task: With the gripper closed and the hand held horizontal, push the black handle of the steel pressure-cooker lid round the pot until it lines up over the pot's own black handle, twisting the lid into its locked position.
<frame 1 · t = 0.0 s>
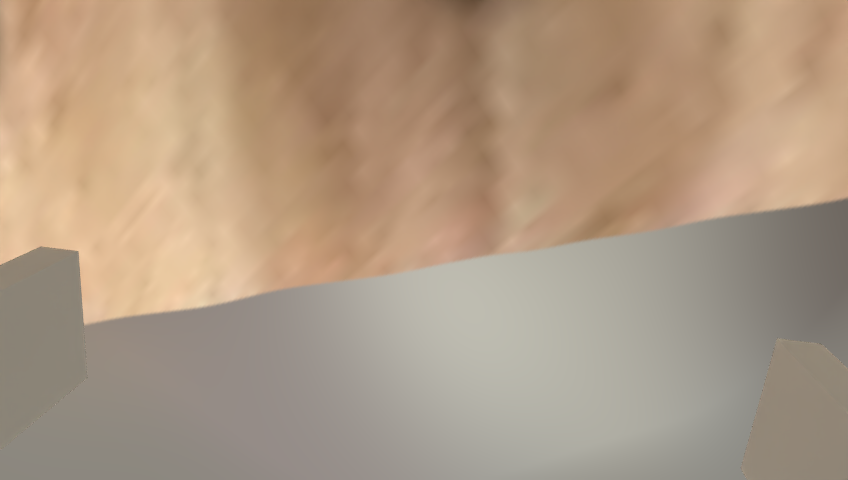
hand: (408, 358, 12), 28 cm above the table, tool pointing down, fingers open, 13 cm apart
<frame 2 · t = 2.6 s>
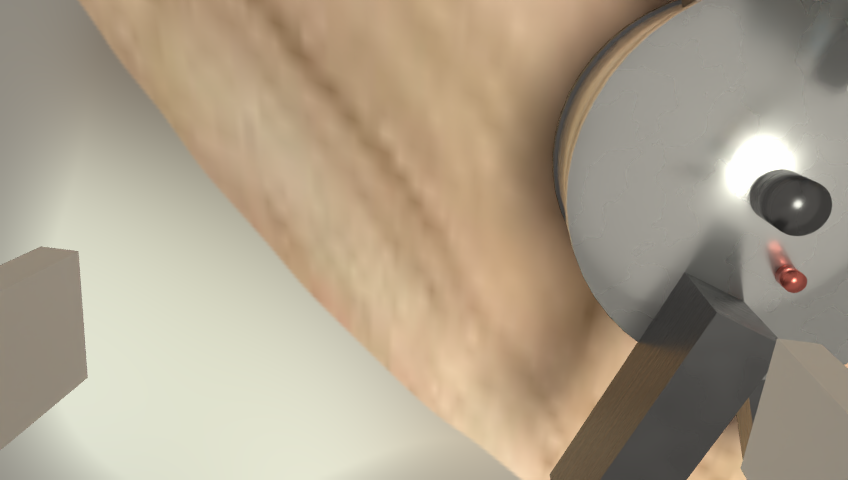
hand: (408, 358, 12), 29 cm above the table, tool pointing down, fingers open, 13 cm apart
pot: (710, 157, 39), on the table
lid: (749, 268, 29), point 11 cm above the table, hinge at -40.0°
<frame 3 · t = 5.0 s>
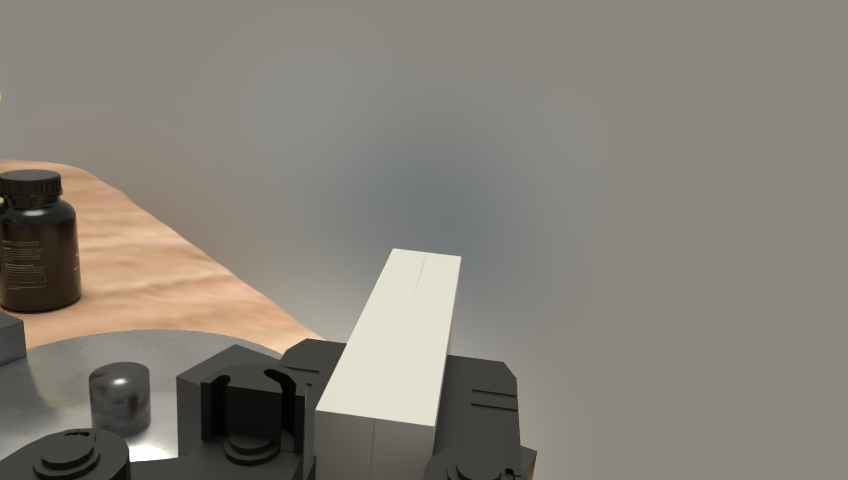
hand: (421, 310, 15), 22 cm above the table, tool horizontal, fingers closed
supplement bottle: (41, 300, 62), on the table
lid: (175, 413, 27), point 11 cm above the table, hinge at -40.0°
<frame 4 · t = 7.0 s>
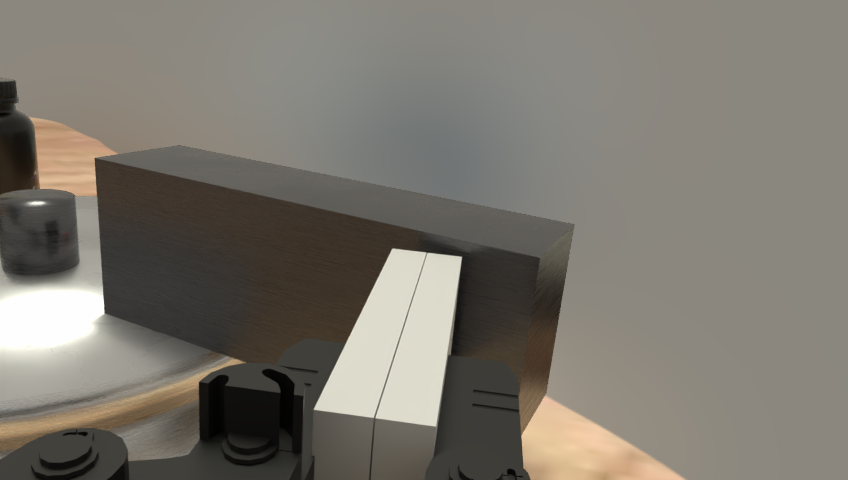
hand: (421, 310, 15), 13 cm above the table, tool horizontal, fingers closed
lid: (104, 236, 22), point 11 cm above the table, hinge at -39.4°, touching gripper
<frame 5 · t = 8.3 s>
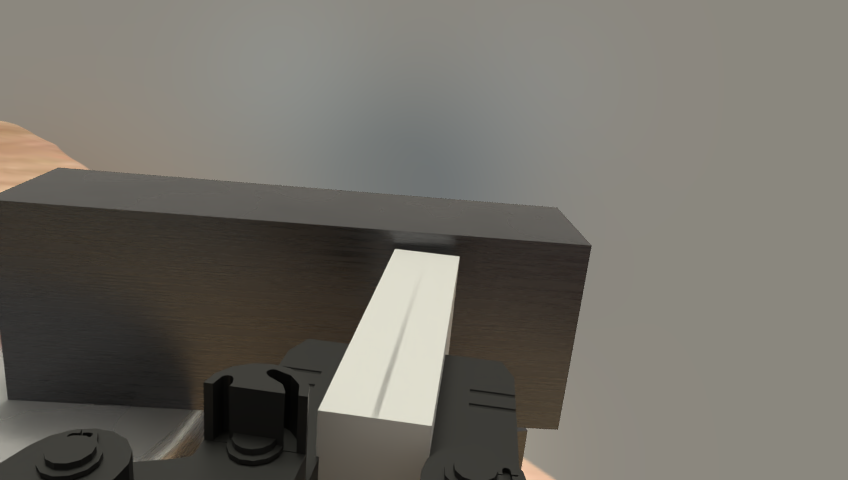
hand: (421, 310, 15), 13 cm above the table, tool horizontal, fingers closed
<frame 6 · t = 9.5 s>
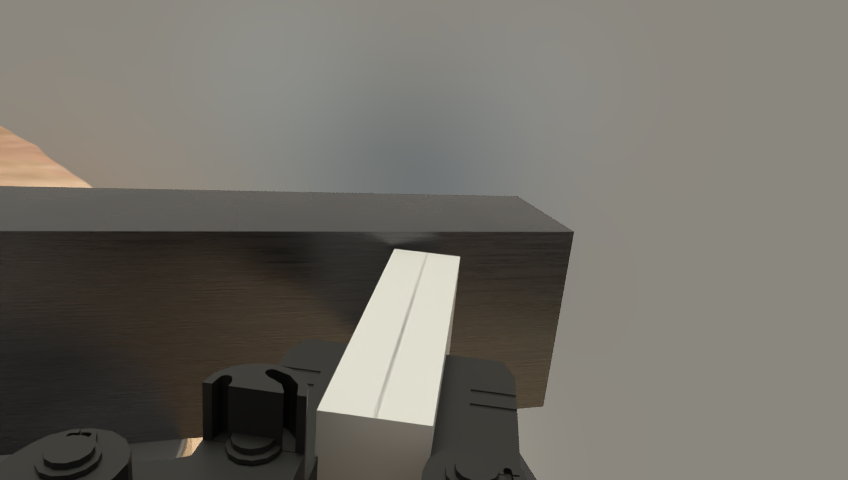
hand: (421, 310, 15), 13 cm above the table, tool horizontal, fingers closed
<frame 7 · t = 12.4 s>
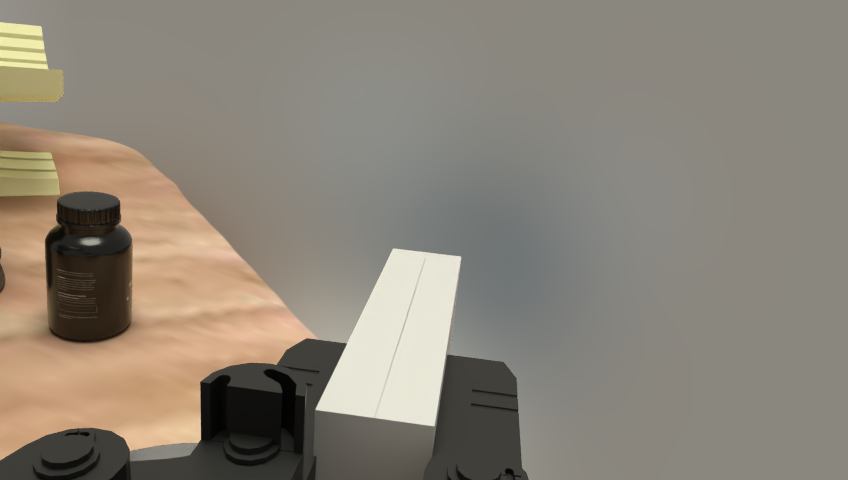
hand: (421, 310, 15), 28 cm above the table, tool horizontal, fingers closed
supplement bottle: (90, 325, 60), on the table
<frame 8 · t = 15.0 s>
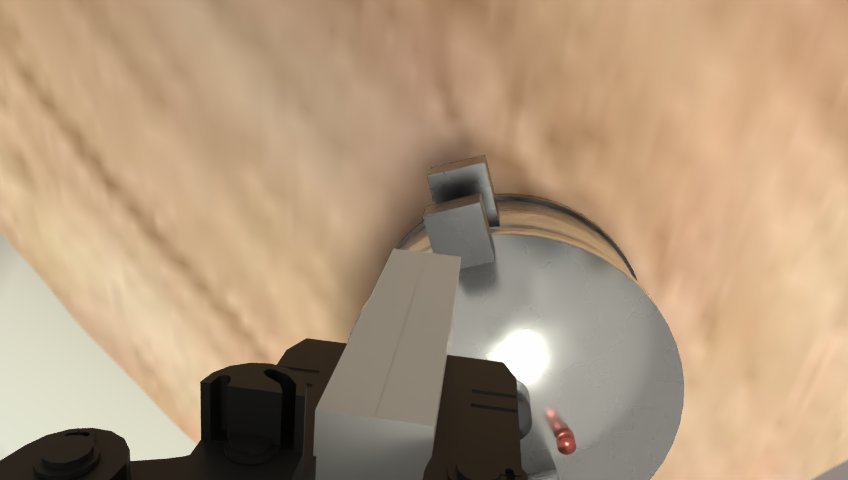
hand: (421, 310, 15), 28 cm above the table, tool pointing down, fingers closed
pot: (505, 324, 45), on the table
lid: (522, 466, 35), point 11 cm above the table, hinge at 1.0°
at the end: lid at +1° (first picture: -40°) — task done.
